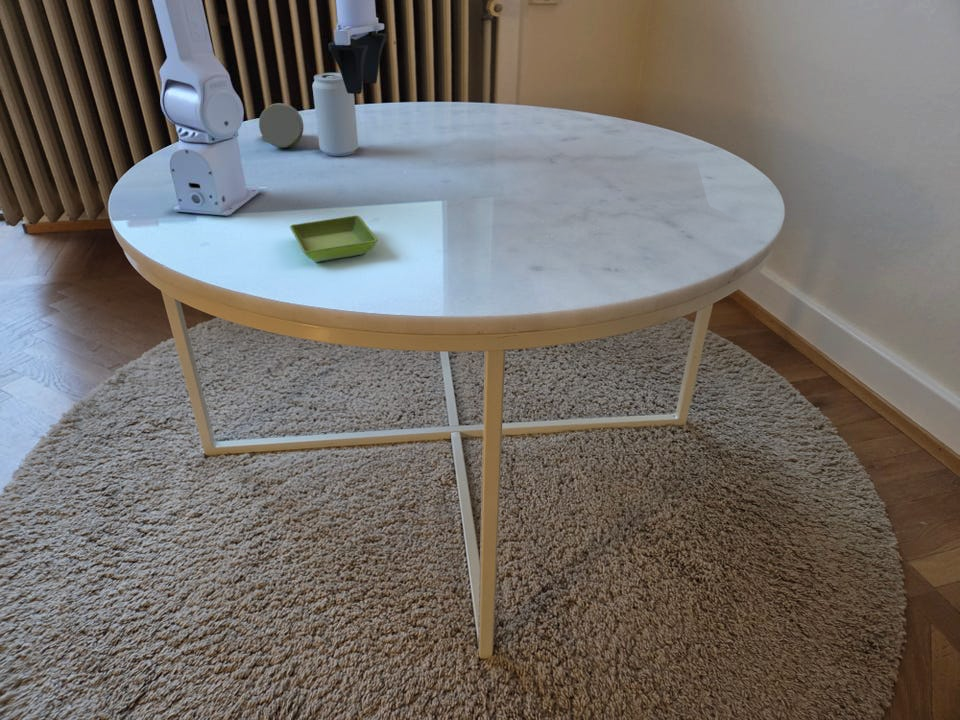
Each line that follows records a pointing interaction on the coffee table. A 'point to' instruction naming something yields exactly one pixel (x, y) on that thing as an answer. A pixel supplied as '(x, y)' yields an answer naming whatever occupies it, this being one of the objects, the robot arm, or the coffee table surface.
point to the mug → (281, 125)
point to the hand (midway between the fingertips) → (362, 87)
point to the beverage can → (335, 115)
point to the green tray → (334, 238)
